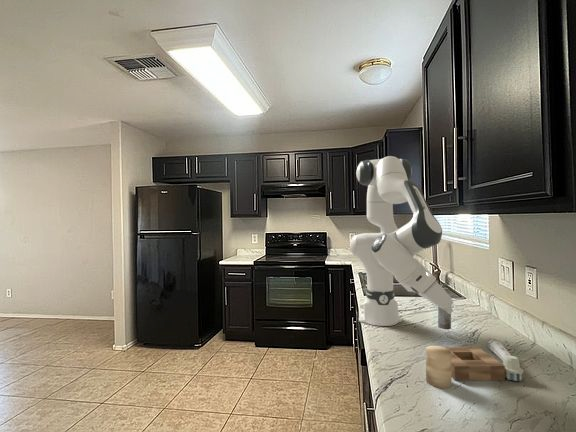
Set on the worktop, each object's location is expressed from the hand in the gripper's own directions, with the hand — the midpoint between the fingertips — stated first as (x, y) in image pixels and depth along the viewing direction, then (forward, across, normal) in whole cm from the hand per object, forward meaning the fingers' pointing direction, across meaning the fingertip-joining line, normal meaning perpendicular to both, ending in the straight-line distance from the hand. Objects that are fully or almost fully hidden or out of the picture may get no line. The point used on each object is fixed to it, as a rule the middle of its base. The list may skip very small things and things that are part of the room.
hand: (446, 309), depth 104 cm
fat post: (+8, +9, -17) cm, 21 cm away
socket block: (+16, +1, -8) cm, 18 cm away
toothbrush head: (+26, -3, 0) cm, 26 cm away
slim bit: (+3, 0, -4) cm, 5 cm away
